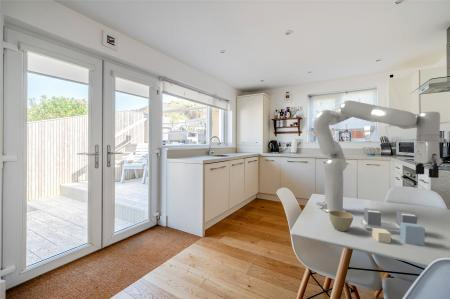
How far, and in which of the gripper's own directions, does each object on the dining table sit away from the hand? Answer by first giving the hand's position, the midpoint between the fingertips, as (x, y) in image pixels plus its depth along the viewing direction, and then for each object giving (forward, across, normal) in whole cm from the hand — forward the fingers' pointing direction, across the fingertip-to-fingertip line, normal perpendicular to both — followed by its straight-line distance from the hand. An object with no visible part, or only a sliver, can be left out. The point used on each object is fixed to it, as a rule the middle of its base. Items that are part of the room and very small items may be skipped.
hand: (426, 175), depth 93 cm
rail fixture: (+25, +5, -16) cm, 30 cm away
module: (+25, +17, -13) cm, 33 cm away
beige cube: (+25, +18, -24) cm, 39 cm away
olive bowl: (+25, +12, -38) cm, 47 cm away
